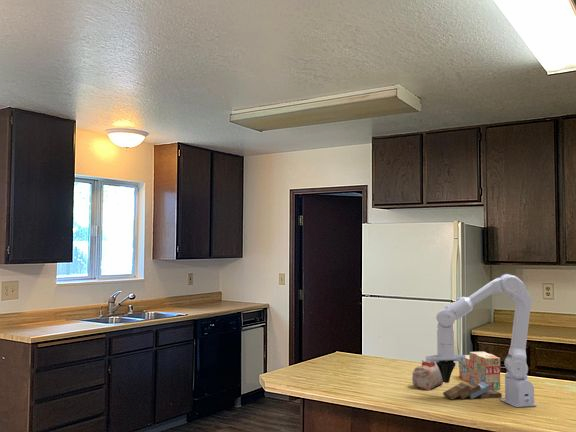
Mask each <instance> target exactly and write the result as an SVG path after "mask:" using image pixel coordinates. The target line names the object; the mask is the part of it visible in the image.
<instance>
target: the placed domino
mask: <svg viewBox="0 0 576 432" xmlns="http://www.w3.org/2000/svg"><path fill="white" fill-rule="evenodd" d="M478 385H480V388H481V390H479V391H477V392H475V393H473V394H471V395H469V396H467V397H468V398H470V399H471V400H473V399H475V398H478V397H477V396H479V395H481V394H483V393H485V392H487V391H489V390H491V388H490V385H488V384H486V383H484V382H481V383H479V384H478ZM467 397H466V398H467Z"/></svg>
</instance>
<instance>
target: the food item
mask: <svg viewBox="0 0 576 432" xmlns="http://www.w3.org/2000/svg"><path fill="white" fill-rule="evenodd" d="M411 374H412V378H411V379H412V385H413V386H415V388H418V389H419V390H420V389H421V390H425V391H431V390H432V389H434V388H436V387H438V386H441V385H442V384H443V383H444V382H443V380H442V376H441V372H440V370H439V368H438V366H437V364H436V362H431V363H428V362H426V360H425V361H424V360H421V365H420V366H419V365H418V366H416V367H415V368H414V369H413V371H412V373H411Z"/></svg>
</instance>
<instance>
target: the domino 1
mask: <svg viewBox="0 0 576 432" xmlns="http://www.w3.org/2000/svg"><path fill="white" fill-rule="evenodd" d="M469 390H470V388H469V385H467V384H465V383H463V382H460V383H458V384H455V385H454V386H452V387H450V388H448V389H446V390H445V391H443V392H442V394H443V396H444V397H445V398H447V399H448V400H450V401H453V400H454V399H456V398H459V397H458V396H460V395H462V394H463V393H465V392H467V391H469Z"/></svg>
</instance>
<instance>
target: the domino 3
mask: <svg viewBox="0 0 576 432" xmlns="http://www.w3.org/2000/svg"><path fill="white" fill-rule="evenodd" d="M476 398H479V399H481V400H483V399H484V400H485V399H502V398H503V397H502V392H500V391H498V390H489V391H487V392H485V393H483V394H481V395H479V396H477V397H476Z"/></svg>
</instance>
